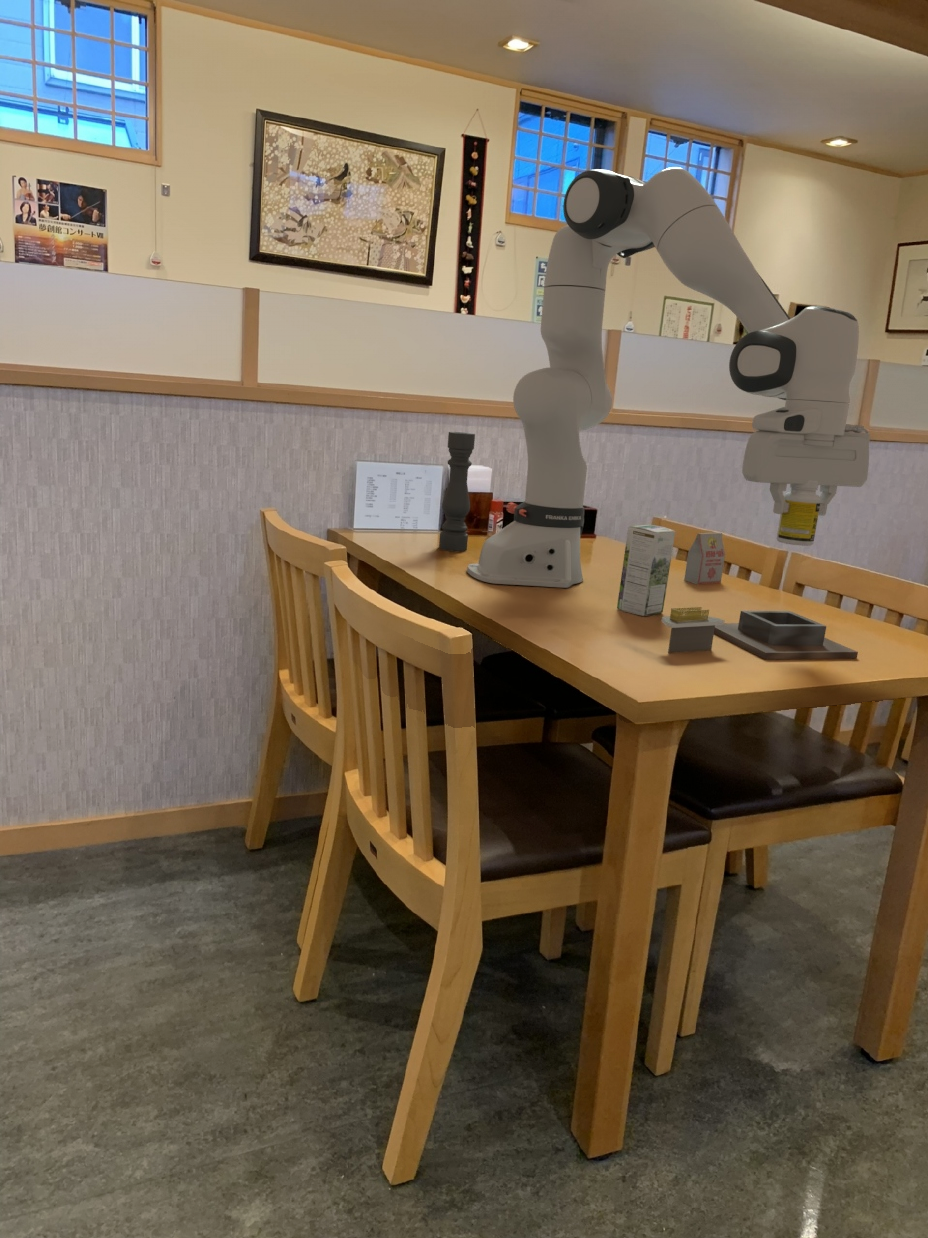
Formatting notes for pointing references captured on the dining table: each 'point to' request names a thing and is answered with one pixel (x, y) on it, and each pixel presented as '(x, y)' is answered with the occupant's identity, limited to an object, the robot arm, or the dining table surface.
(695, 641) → the platform
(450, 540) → the dark gray baluster
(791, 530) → the supplement bottle
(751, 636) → the socket holder
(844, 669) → the dining table surface
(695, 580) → the tea bag
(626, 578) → the syrup box
